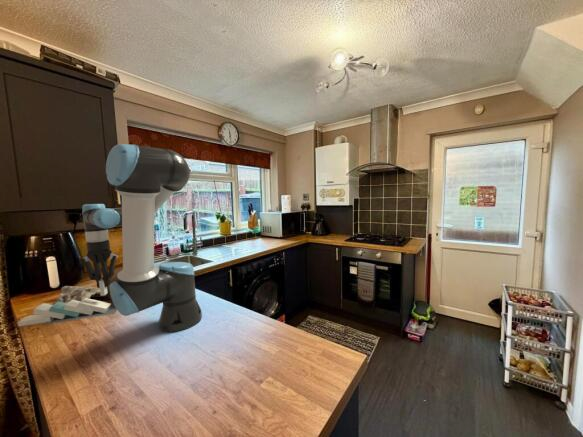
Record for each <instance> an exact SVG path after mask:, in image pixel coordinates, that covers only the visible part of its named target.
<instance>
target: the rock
mask: <svg viewBox="0 0 583 437" xmlns="http://www.w3.org/2000/svg"><path fill="white" fill-rule="evenodd" d="M60 291H61V293H60V294H58V297H57V298H56V301H57V302H58V301H59V302H64V303H68V302H70V301H71V300H76V301H82V300H83V299H85V298H89V299H91V297H95V298H97V297H102V296H101V295H100V288H97V286H95V287H93V286H91V285H88V286H84V287H83V286H77V285H76V286H71V285H64V286H62V287H61V288H60ZM103 297H106V296H105V295H104V296H103Z"/></svg>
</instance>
